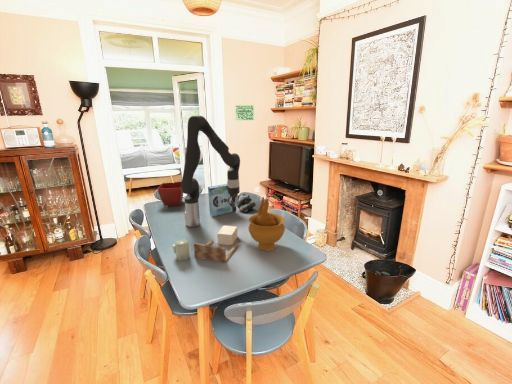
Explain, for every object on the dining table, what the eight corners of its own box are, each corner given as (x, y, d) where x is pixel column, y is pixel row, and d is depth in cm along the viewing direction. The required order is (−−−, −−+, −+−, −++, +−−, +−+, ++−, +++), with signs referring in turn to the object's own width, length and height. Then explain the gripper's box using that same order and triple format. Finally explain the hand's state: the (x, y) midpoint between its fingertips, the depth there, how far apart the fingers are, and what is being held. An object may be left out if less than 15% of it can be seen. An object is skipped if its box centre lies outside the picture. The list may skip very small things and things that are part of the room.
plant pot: (164, 200, 234) (162, 182, 230) (186, 199, 236) (184, 182, 231) (159, 207, 216) (157, 188, 211) (182, 206, 218) (180, 187, 213)
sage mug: (172, 259, 139) (170, 244, 137) (179, 252, 146) (178, 238, 143) (185, 261, 137) (183, 246, 134) (192, 255, 143) (191, 240, 141)
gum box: (231, 209, 211) (230, 182, 204) (234, 211, 207) (233, 184, 200) (209, 214, 200) (207, 186, 194) (212, 217, 196) (210, 188, 190)
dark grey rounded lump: (241, 214, 201) (234, 197, 202) (238, 214, 213) (231, 199, 213) (258, 206, 205) (251, 190, 205) (254, 207, 217) (248, 192, 217)
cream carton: (217, 244, 156) (217, 233, 154) (224, 235, 167) (223, 225, 165) (232, 245, 154) (231, 234, 152) (237, 236, 165) (237, 226, 163)
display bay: (194, 257, 141) (193, 244, 139) (211, 241, 158) (210, 229, 156) (224, 262, 136) (224, 249, 133) (238, 245, 153) (237, 233, 151)
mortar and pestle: (290, 251, 146) (291, 201, 137) (254, 257, 140) (253, 205, 132) (276, 235, 165) (277, 191, 157) (244, 240, 160) (243, 194, 151)
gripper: (232, 182, 169) (233, 207, 174) (223, 188, 157) (224, 214, 162) (242, 183, 166) (243, 208, 171) (234, 189, 154) (235, 215, 159)
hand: (234, 211), depth 166 cm, fingers closed
